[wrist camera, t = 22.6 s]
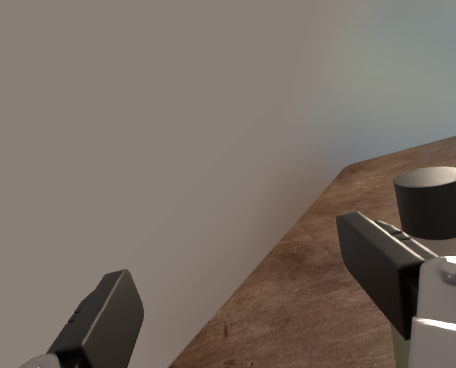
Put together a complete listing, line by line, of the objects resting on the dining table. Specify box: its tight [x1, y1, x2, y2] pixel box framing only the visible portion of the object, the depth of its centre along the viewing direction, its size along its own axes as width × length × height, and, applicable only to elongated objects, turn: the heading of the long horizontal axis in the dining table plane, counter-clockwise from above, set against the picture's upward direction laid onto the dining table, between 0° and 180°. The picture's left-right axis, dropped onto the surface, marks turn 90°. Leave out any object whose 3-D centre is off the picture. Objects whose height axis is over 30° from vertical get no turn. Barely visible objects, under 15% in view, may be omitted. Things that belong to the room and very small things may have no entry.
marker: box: [394, 167, 456, 257], centre depth 17 cm, size 3×3×15 cm
